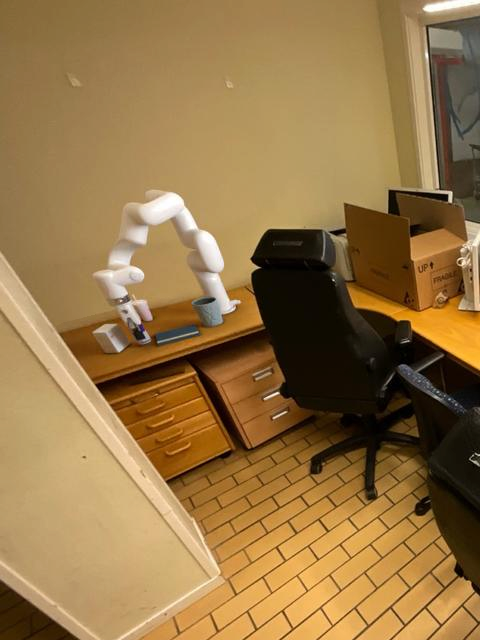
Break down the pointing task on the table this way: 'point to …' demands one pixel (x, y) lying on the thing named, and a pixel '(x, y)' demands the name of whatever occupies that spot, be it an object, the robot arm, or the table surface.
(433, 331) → the table surface
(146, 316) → the smoothie
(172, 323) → the table surface
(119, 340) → the small box
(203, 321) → the blue plant pot
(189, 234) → the robot arm
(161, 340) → the book
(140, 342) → the energy drink
